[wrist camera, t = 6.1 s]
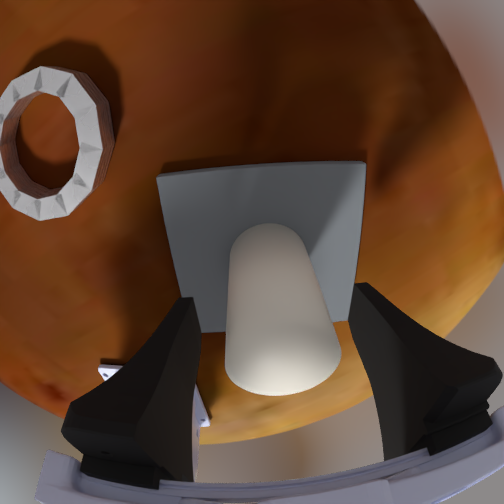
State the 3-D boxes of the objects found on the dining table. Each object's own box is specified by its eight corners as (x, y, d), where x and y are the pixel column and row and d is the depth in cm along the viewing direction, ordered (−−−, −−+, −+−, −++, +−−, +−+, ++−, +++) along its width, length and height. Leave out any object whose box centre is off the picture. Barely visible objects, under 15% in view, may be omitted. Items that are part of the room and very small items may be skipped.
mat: (345, 314, 19) (347, 320, 18) (192, 326, 19) (191, 333, 18) (361, 160, 14) (366, 163, 13) (159, 174, 14) (156, 177, 13)
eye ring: (125, 197, 14) (115, 208, 13) (20, 216, 14) (7, 227, 13) (104, 48, 10) (90, 45, 9) (-5, 96, 10) (-21, 100, 9)
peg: (306, 284, 17) (335, 387, 11) (235, 292, 17) (234, 399, 11) (304, 219, 15) (346, 314, 9) (224, 228, 15) (214, 330, 9)
